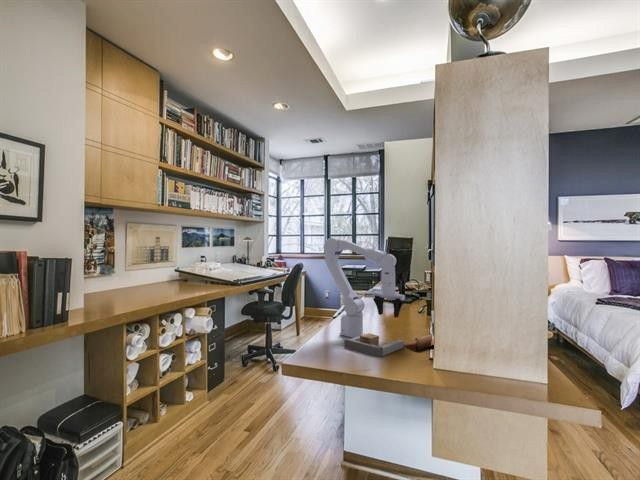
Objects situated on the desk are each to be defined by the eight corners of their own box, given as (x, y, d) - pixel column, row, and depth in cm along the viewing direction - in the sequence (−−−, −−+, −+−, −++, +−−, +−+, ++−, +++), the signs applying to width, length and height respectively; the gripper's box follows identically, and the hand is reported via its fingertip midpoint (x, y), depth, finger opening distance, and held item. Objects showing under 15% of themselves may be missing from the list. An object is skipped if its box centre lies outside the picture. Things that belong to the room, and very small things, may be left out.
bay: (344, 347, 121) (344, 339, 121) (369, 339, 132) (369, 331, 132) (379, 357, 109) (379, 348, 110) (403, 347, 121) (403, 339, 121)
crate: (359, 349, 119) (359, 335, 119) (367, 346, 122) (367, 333, 123) (370, 352, 115) (370, 338, 115) (379, 349, 119) (379, 335, 119)
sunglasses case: (427, 338, 133) (434, 326, 130) (440, 351, 128) (447, 338, 125) (399, 346, 122) (406, 333, 119) (412, 360, 117) (420, 346, 114)
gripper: (368, 282, 135) (368, 314, 134) (398, 285, 124) (398, 319, 124) (378, 281, 140) (378, 312, 139) (407, 283, 129) (407, 317, 129)
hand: (388, 315), depth 132 cm, fingers open, 7 cm apart
